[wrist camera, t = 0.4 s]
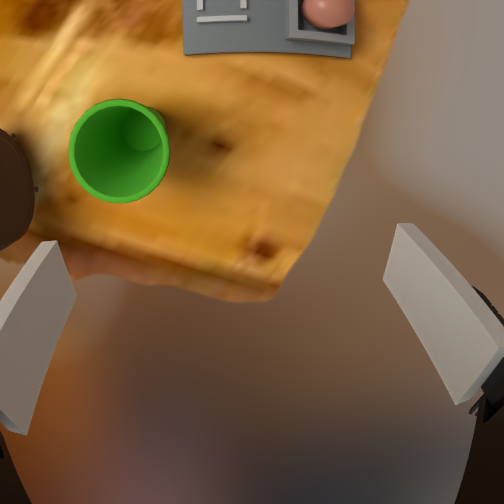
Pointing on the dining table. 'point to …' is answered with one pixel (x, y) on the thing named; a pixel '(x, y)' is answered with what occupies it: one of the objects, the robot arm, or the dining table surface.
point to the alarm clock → (14, 191)
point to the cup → (119, 150)
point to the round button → (327, 12)
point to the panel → (259, 29)
